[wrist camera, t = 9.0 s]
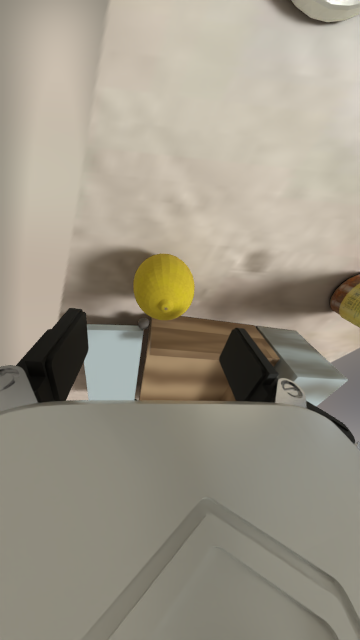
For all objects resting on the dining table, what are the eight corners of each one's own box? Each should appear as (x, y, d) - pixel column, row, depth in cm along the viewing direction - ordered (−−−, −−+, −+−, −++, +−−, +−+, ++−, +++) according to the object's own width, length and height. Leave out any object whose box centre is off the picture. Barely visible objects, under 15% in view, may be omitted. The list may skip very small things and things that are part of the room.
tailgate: (142, 322, 21) (83, 320, 19) (143, 331, 20) (79, 329, 18) (133, 394, 29) (91, 398, 27) (133, 403, 28) (89, 408, 26)
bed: (140, 309, 21) (131, 365, 14) (296, 329, 27) (349, 378, 19) (131, 390, 31) (123, 449, 24) (248, 394, 36) (271, 443, 29)
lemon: (128, 278, 19) (113, 318, 13) (155, 233, 17) (154, 254, 10) (169, 301, 21) (174, 346, 15) (197, 265, 19) (218, 299, 13)
